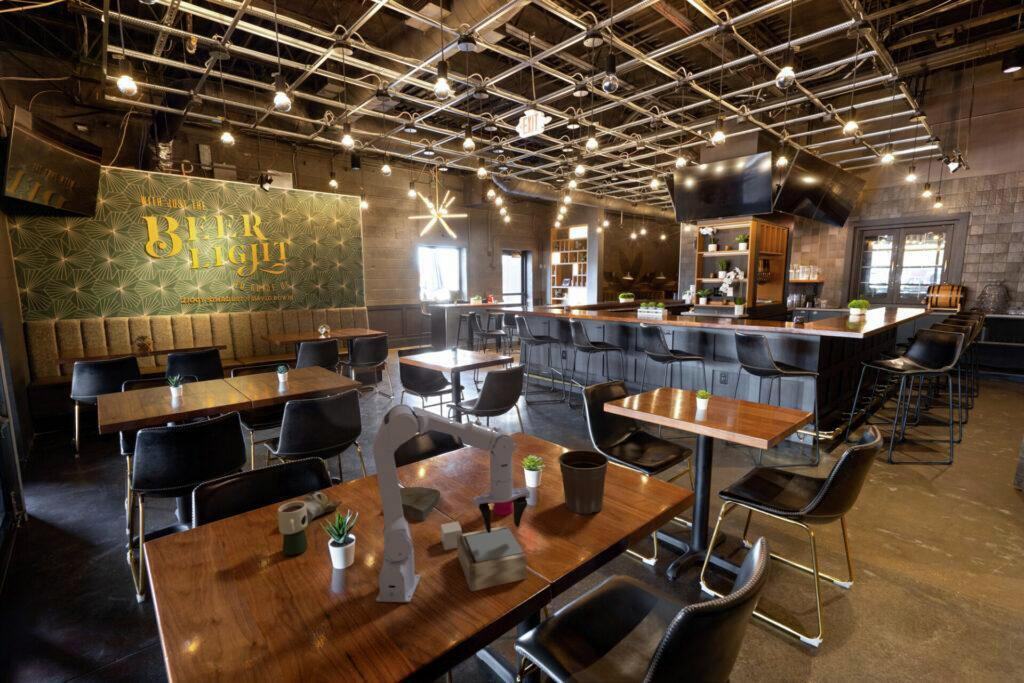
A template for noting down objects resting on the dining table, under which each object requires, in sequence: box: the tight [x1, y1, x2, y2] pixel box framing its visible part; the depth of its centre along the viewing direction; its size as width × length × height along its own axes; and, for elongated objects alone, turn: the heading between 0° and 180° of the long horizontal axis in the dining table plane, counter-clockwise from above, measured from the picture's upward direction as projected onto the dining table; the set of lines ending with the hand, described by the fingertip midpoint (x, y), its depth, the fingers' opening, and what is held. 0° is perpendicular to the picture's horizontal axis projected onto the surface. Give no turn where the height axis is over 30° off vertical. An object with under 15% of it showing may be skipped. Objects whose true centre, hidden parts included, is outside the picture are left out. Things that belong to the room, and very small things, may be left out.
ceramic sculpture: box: [302, 490, 343, 524], centre depth 144 cm, size 11×9×15 cm
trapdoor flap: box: [466, 527, 525, 564], centre depth 115 cm, size 12×12×1 cm
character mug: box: [277, 500, 309, 556], centre depth 124 cm, size 11×7×13 cm, turn 22°
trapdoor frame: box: [457, 525, 527, 592], centre depth 115 cm, size 14×15×7 cm
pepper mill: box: [493, 500, 514, 517], centre depth 143 cm, size 7×7×20 cm
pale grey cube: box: [440, 520, 463, 551], centre depth 126 cm, size 5×5×5 cm
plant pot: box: [557, 449, 610, 515], centre depth 146 cm, size 16×16×16 cm
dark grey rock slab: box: [399, 486, 441, 522], centre depth 148 cm, size 17×15×4 cm
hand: (502, 528), depth 116 cm, fingers open, 7 cm apart
